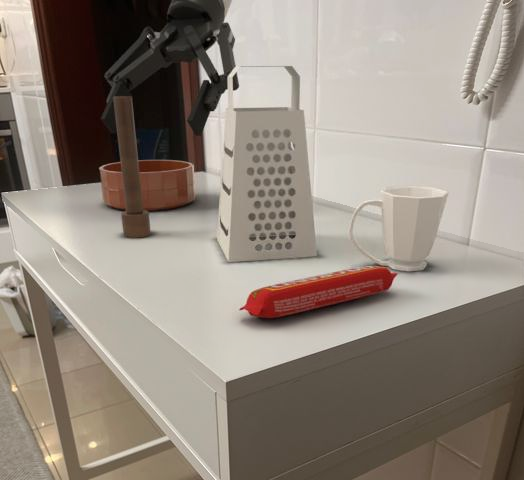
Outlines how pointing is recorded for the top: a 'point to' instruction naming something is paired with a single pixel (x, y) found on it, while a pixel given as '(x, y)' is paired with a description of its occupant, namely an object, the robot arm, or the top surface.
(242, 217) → the grater
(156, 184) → the bowl
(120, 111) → the wooden pestle
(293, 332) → the top surface
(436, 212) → the cup
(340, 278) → the candy bar
